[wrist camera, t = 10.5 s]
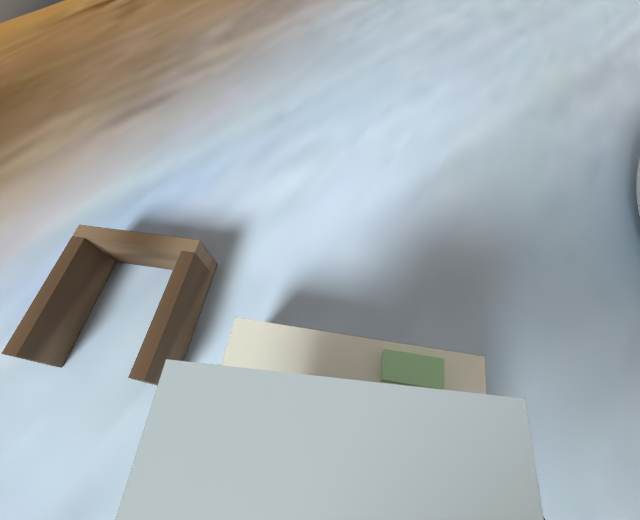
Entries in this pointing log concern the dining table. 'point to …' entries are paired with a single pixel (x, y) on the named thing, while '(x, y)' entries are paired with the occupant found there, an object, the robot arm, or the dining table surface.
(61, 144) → the dining table surface
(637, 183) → the bowl
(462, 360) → the frame
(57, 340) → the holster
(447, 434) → the plug
